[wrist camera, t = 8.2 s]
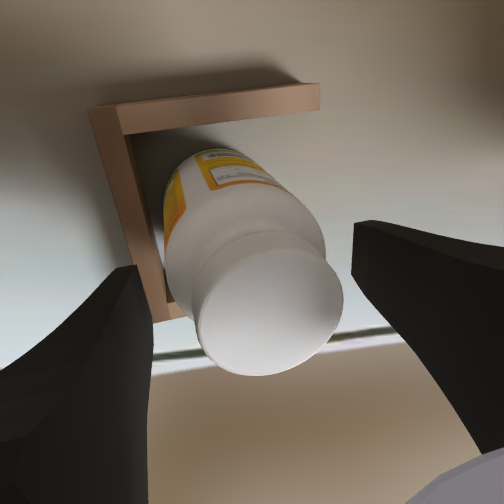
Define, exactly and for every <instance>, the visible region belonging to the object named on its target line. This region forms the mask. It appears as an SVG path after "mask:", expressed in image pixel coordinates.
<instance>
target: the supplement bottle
mask: <svg viewBox="0 0 504 504" xmlns="http://www.w3.org/2000/svg"><path fill="white" fill-rule="evenodd" d="M163 216H164V248H165V271H166V277H167V283H168V286H169V289H170V291H171V294H172V296H173V298H174V300H175V302H176V303H177V305H178V306H179V307H180V309H181V310H182V311H183V312H184V313H185V314H186V315H187V316H188V317H189V318H190V319H192V320H193V321H194V322H195V327H196V333H197V337H198V341H199V343H200V345H201V347H202V349H203V351H204V352H205V353H206V355H207V356H208V357H209V358H210V360H212V361H213V362H214V363H215V364H217V365H218V366H220V367H221V368H223V369H225V370H227V371H230V372H232V373H236V374H241V375H248V376H262V375H270V374H274V373H279V372H282V371H285V370H288V369H290V368H293V367H295V366H297V365H299V364H301V363H302V362H304V361H306V360H307V359H309V358H310V357H311V356H313V355H314V354H315V353H316V352H317V351H319V350H320V349H321V348H322V347H323V346H324V345H325V343H326V342H327V341H328V340H329V339H330V337H331V336H332V334H333V333H334V331H335V329H336V327H337V325H338V323H339V321H340V318H341V315H342V310H343V291H342V286H341V283H340V281H339V278H338V276H337V275H336V273H335V271H334V270H333V269H332V268H331V266H330V265H329V264H328V263H327V261H326V251H325V242H324V238H323V234H322V231H321V229H320V227H319V225H318V223H317V221H316V219H315V218H314V216H313V215H312V214H311V212H310V211H309V210H308V209H307V208H306V207H305V206H304V205H303V204H302V203H301V202H300V201H299V200H298V199H297V198H296V197H295V196H294V195H293V194H291V193H290V192H289V191H288V190H286V189H285V188H284V187H283V186H282V185H281V184H280V183H279V182H277V181H276V180H275V179H274V178H273V177H272V176H271V175H269V174H268V173H267V172H266V171H265V170H264V169H263V168H261V167H260V166H259V165H258V164H257V163H256V162H254V161H253V160H251V159H250V158H248V157H247V156H245V155H243V154H241V153H239V152H236V151H233V150H228V149H209V150H205V151H201V152H198V153H196V154H194V155H192V156H190V157H189V158H187V159H186V160H184V161H183V162H182V163H181V164H180V165H179V166H178V167H177V168H176V169H175V171H174V172H173V173H172V175H171V177H170V179H169V181H168V183H167V185H166V189H165V193H164V200H163Z"/></svg>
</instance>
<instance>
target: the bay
mask: <svg viewBox="0 0 504 504" xmlns="http://www.w3.org/2000/svg"><path fill="white" fill-rule="evenodd" d="M314 110H320V83H295V84H286V85H277V86H268V87H259V88H250V89H242V90H233V91H224V92H215V93H206V94H197V95H189V96H180V97H171V98H162V99H153V100H144V101H136V102H127V103H118V104H109V105H100V106H95V107H93V108H90V109H88V110H87V111H88V114H89V118H90V121H91V124H92V128H93V131H94V134H95V138H96V141H97V144H98V148H99V151H100V154H101V158H102V161H103V164H104V168H105V171H106V174H107V178H108V181H109V184H110V188H111V191H112V194H113V198H114V201H115V204H116V208H117V211H118V214H119V218H120V221H121V224H122V228H123V231H124V234H125V238H126V241H127V244H128V248H129V251H130V254H131V258H132V261H133V264H134V265H135V264H137V267H138V270H139V274H140V277H141V280H142V284H143V287H144V291H145V294H146V297H147V301H148V304H149V308H150V311H151V314H152V321H153V323H158V322H162V321H167V320H171V319H176V318H180V317H185V316H187V315H186V314H185V313H184V312H183V311H182V310H181V309H180V307H179V306H178V305H177V303H176V302H175V300H174V298H173V296H172V294H171V291H170V289H169V286H168V283H167V282H166V278H165V274H164V270H163V266H162V262H161V259H160V255H159V251H158V247H157V243H156V239H155V235H154V231H153V227H152V223H151V219H150V215H149V211H148V207H147V203H146V199H145V195H144V191H143V187H142V183H141V179H140V175H139V171H138V168H137V164H136V160H135V156H134V152H133V148H132V144H131V140H130V136H129V134H134V133H142V132H150V131H158V130H166V129H173V128H181V127H189V126H197V125H205V124H212V123H220V122H228V121H236V120H244V119H251V118H259V117H267V116H275V115H282V114H290V113H298V112H306V111H314Z"/></svg>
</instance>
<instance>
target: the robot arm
mask: <svg viewBox="0 0 504 504" xmlns="http://www.w3.org/2000/svg"><path fill="white" fill-rule="evenodd" d="M351 275H352V277H353V278H354V280H355V281H356V283H357V285H358V286H359V288H360V289H361V291H362V292H363V294H364V295H365V296H366V298H367V299H368V300H369V301H370V302H371V303H372V305H373V306H374V307H375V308H376V309H377V310H378V311H379V313H380V314H381V315H382V316H383V317H384V318H385V319H386V320H387V321H388V322H389V324H390V325H391V326H392V327H393V328H394V329H395V330H396V331H397V332H398V334H399V335H400V336H401V337H402V338H403V339H404V340H405V341H406V342H407V344H408V345H409V346H410V347H411V348H412V350H413V351H414V352H415V353H416V355H417V356H418V357H419V359H420V360H421V362H422V363H423V364H424V366H425V367H426V368H427V370H428V371H429V373H430V374H431V375H432V377H433V378H434V380H435V381H436V382H437V384H438V386H439V387H440V388H441V390H442V391H443V393H444V394H445V396H446V397H447V399H448V400H449V402H450V403H451V405H452V406H453V408H454V409H455V411H456V412H457V414H458V416H459V417H460V419H461V421H462V422H463V424H464V426H465V427H466V428H467V430H468V432H469V433H470V435H471V437H472V438H473V440H474V442H475V443H476V445H477V447H478V449H479V450H480V452H481V454H482V455H480V456H478V457H476V458H474V459H472V460H470V461H468V462H466V463H464V464H462V465H459V466H457V467H455V468H453V469H451V470H449V471H447V472H445V473H443V474H441V475H439V476H438V477H437V478H435V479H434V480H433V481H432V482H431V483H429V484H428V485H427V486H426V487H424V488H423V489H422V490H421V491H419V492H418V493H417V494H416V495H415V496H413V497H412V498H411V499H410V500H408V501H407V502H406V504H504V247H499V246H493V245H486V244H480V243H474V242H469V241H464V240H459V239H454V238H450V237H445V236H441V235H437V234H432V233H428V232H424V231H420V230H416V229H412V228H408V227H404V226H400V225H396V224H392V223H387V222H382V221H376V220H368V221H363V222H357V223H354V233H353V250H352V268H351ZM153 346H154V342H153V321H152V314H151V311H150V308H149V304H148V301H147V297H146V294H145V291H144V287H143V284H142V280H141V277H140V274H139V270H138V267H137V264H135V265H130V266H125V267H120V268H116V269H115V270H114V271H113V272H112V273H111V274H110V275H109V276H108V277H107V278H106V279H105V280H104V281H103V282H102V283H101V284H100V285H99V287H98V288H97V289H96V290H95V291H94V292H93V293H92V294H91V295H90V296H89V297H88V298H87V299H86V300H85V301H84V302H83V303H82V304H81V305H80V306H79V307H78V308H77V309H76V310H75V311H74V312H73V313H72V314H71V315H70V316H69V317H68V318H67V319H66V320H65V321H64V322H63V323H62V324H61V325H59V326H58V327H57V328H56V329H55V330H54V331H53V332H51V333H50V334H49V335H48V336H47V337H46V338H44V339H43V340H42V341H41V342H39V343H38V344H37V345H36V346H34V347H33V348H32V349H30V350H29V351H28V352H27V353H25V354H24V355H23V356H21V357H20V358H18V359H17V360H15V361H14V362H13V363H11V364H10V365H8V366H7V367H5V368H4V369H2V370H1V371H0V504H148V476H147V475H148V472H147V410H148V400H149V389H150V379H151V368H152V357H153Z"/></svg>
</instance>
